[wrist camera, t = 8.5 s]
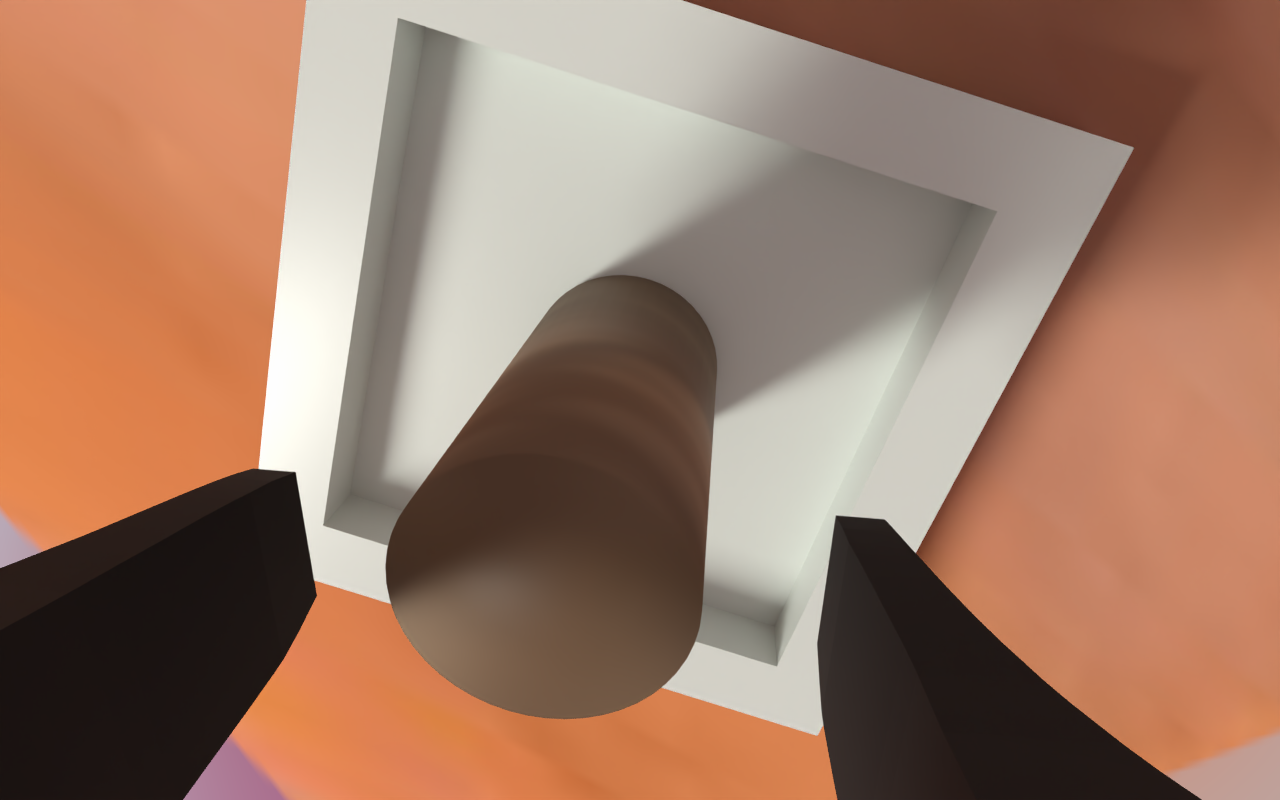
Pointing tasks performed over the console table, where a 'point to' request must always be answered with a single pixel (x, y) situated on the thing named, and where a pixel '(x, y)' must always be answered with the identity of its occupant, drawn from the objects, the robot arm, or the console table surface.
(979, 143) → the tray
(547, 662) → the dowel
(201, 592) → the robot arm
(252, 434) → the console table surface
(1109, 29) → the console table surface
